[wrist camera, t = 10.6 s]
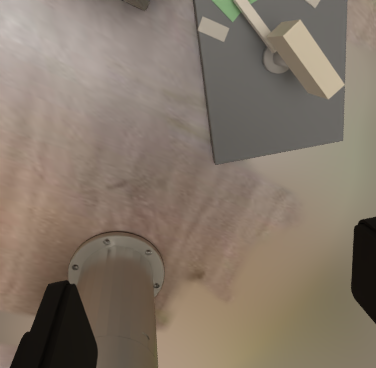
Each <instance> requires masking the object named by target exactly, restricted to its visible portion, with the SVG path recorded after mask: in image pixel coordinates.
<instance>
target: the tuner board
mask: <svg viewBox="0 0 376 368" xmlns="http://www.w3.org/2000/svg"><path fill="white" fill-rule="evenodd" d="M248 1H249V3H250V4H251V6H252V7H253V8H254V10H255V11H256V12H257V14H258V15H259V16H260V18H261V19H262V20H263V22H264V23H265V25H266V26H267V27H268V29H269V30H270V31H271V32H272V31H273V30H274V29H275V28H276V27H277V26H278V25H279V24H280V23H281V22H286V21H293V20H301V21H302V23H303V24H304V26H305V27H306V29H307V30H308V32H309V33H310V34H311V36H312V37H313V39H314V40H315V42H316V43H317V45H318V46H319V48H320V49H321V51H322V52H323V53H324V55H325V56H326V58H327V59H328V61H329V62H330V64H331V65H332V67H333V68H334V69H335V71H336V72H337V74H338V75H339V77H340V78H341V80H342V81H343V83H344V84H345V62H346V29H347V0H248ZM193 3H194V11H195V19H196V27H197V34H198V42H199V50H200V58H201V65H202V73H203V81H204V89H205V96H206V104H207V112H208V120H209V127H210V135H211V143H212V150H213V158H214V163H215V164H216V165H218V164H223V163H228V162H234V161H239V160H244V159H249V158H255V157H260V156H265V155H270V154H276V153H281V152H286V151H291V150H296V149H302V148H307V147H313V146H317V145H323V144H328V143H334V142H339V141H343V127H344V126H343V125H344V93H345V85H344V86H343V87H342V88H341V89H340V90H339V91H337V92H336V93H335V94H334V95H333V96H332V97H331V98H330V99H326V98H322V97H319V96H316V95H312V94H309V93H308V92H307V91H306V90H305V88H304V87H303V86H302V84H301V83H300V82H299V80H298V79H297V78H296V76H295V75H294V74H293V72H292V71H291V70H290V68H289V69H288V70H287V71H286V72H284V73H279V74H277V73H272V72H269V71H268V70H267V69H266V68H265V67H264V65H263V62H262V55H263V52H264V50H265V48H266V47H267V46H266V44H265V43H264V42H263V40H262V39H261V38H260V36H259V35H258V34H257V32H256V31H255V30H254V28H253V27H252V26H251V24H250V23H249V22H248V20H247V19H246V18H245V16H244V15H243V14H242V12H241V11H240V10H239V8H238V7H237V6H236V4H235V3H234V2H233V0H193Z"/></svg>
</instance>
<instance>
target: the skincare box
mask: <svg viewBox="0 0 376 368" xmlns="http://www.w3.org/2000/svg"><path fill="white" fill-rule="evenodd" d="M123 1H125V2H127V3H129V4H131V5H133V6H135V7H137V8H139V9H142V10H144V11H145V10H146V9H147V7H148V4H149V1H150V0H123Z"/></svg>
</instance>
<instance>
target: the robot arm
mask: <svg viewBox="0 0 376 368" xmlns="http://www.w3.org/2000/svg"><path fill="white" fill-rule="evenodd" d="M106 239H109V240H106ZM353 242H354V243H353V262H352V282H351V290H352V294H353V296H354V298H355V300H356V301H357V302H358V303H359V304H360V306H361V307H362V308H363V309H364V310H365V311H366V313H367V314H368V315H369V316H370V318H371V319H372V320H373V321H374V322H375V323H376V217H373V218H368V219H363V220H360V221H359V223H358V225H356V226H355V228H354V241H353ZM164 275H165V273H164V265H163V260H162V258H161V256H160V254H159V252H158V251H157V249H156V248H155V247H154V246H153V245H152V244H151V243H150V242H148V241H147V240H145V239H143V238H141V237H139V236H137V235H134V234H130V233H124V232H111V233H104V234H101V235H98V236H95V237H93V238H91V239H89V240H87V241H86V242H85V243H84V244H82V245H81V246H80V247H79V248H78V249H77V251H76V252H75V253H74V255H73V257H72V259H71V261H70V264H69V268H68V281H67V280H65V281H60V282H55V283H51V284H48V286H47V288H46V291H45V294H44V296H43V299H42V301H41V304H40V307H39V309H38V312H37V314H36V317H35V320H34V322H33V325H32V328H31V330H30V332H26V333H25V334H24V335H23V337H22V339H21V341H20V344H19V346H18V349H17V351H16V354H15V356H14V359H13V361H12V364H11V366H10V368H158V358H157V339H156V321H155V303H154V298H155V296H156V295H157V294H158V293H159V291H160V289H161V287H162V284H163V282H164Z"/></svg>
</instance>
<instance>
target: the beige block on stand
mask: <svg viewBox="0 0 376 368" xmlns="http://www.w3.org/2000/svg"><path fill="white" fill-rule="evenodd" d="M233 2H234V3H235V4H236V6H237V7H238V8H239V10H240V11H241V12H242V14H243V15H244V16H245V18H246V19H247V20H248V22H249V23H250V24H251V26H252V27H253V28H254V30H255V31H256V32H257V34H258V35H259V36H260V38H261V39H262V40H263V42H264V43H265V44H266V46H267V47H266V48H265V50H264V52H263V55H262V62H263V65H264V67H265V68H266V69H267V70H268V71H269V72H272V73H277V74H279V73H284V72H286V71H287V70H288V69H289V68H290V70H291V71H292V72H293V74H294V75H295V76H296V78H297V79H298V80H299V82H300V83H301V84H302V86H303V87H304V88H305V90H306V91H307V92H308V93H309V94H312V95H316V96H319V97H322V98H326V99H330V98H331V97H332V96H333V95H334V94H335V93H336V92H337V91H339V90H340V89H341V88H342V87H343V86H344V85H345V84H344V83H343V81H342V80H341V78H340V77H339V75H338V74H337V72H336V71H335V69H334V68H333V67H332V65H331V64H330V62H329V61H328V59H327V58H326V56H325V55H324V53H323V52H322V51H321V49H320V48H319V46H318V45H317V43H316V42H315V40H314V39H313V37H312V36H311V34H310V33H309V32H308V30H307V29H306V27H305V26H304V24H303V23H302V21H301V20H293V21H286V22H281V23H280V24H279V25H278V26H277V27H276V28H275V29H274V30H273V31H272V32H271V31H270V30H269V29H268V27H267V26H266V25H265V23H264V22H263V20H262V19H261V18H260V16H259V15H258V14H257V12H256V11H255V10H254V8H253V7H252V6H251V4H250V3H249V1H248V0H233Z"/></svg>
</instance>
